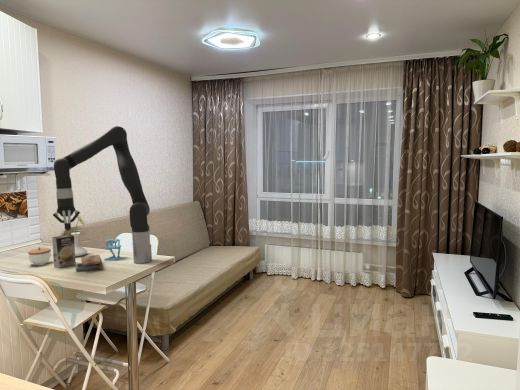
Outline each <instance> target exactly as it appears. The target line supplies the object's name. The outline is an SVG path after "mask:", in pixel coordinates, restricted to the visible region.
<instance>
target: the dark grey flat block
mask: <svg viewBox="0 0 520 390" xmlns="http://www.w3.org/2000/svg"><path fill="white" fill-rule="evenodd" d="M93 270H99V269H98V266H97V264H92V265H85V266H83V265H82V262H80V263H76V264H75V272H76V273H78V272H86V271H93Z"/></svg>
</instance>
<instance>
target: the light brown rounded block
mask: <svg viewBox="0 0 520 390" xmlns="http://www.w3.org/2000/svg"><path fill="white" fill-rule="evenodd" d="M80 259H81V263H82V265H83V266H85V265H92V264H97V266H98V269H97V270H99V271H103V261H102V258H101V255H100V254H95V255H94V254H93V255H87V256H86V255H85V256H80Z"/></svg>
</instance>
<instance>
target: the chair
mask: <svg viewBox="0 0 520 390" xmlns="http://www.w3.org/2000/svg"><path fill="white" fill-rule="evenodd" d="M120 242H121V239H118V238H116V239H113V238H107V239H106V240H105V244H106V247H105V250H109V251H110V253H111V254H112V255H111V256H109V257H106V258H104V259H103V260H104V262H105V261H106V262H107V261H119V259H120V256H121V255H120V253H121V247H122V245H121V244H120ZM113 244H114V245H113ZM113 250H118V251H117V256H116V254H115V253H114V251H113Z"/></svg>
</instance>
